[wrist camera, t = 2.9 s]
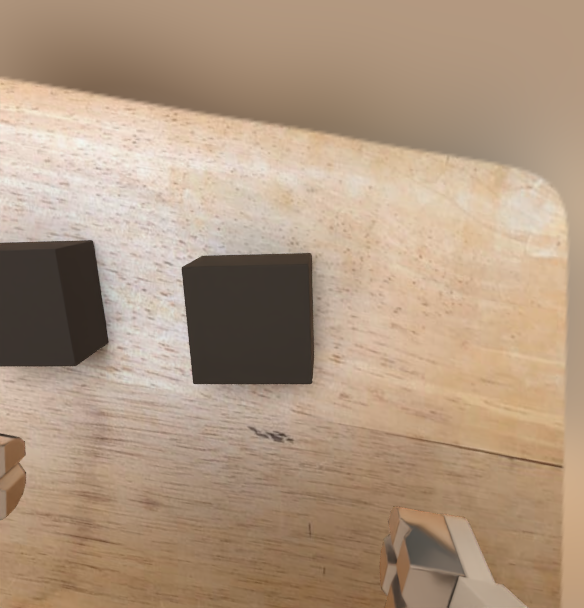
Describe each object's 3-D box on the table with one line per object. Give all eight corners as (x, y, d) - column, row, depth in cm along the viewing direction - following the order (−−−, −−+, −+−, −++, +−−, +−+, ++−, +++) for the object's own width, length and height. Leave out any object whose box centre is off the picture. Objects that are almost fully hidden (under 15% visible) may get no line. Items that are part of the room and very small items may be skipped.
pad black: (311, 253, 23) (309, 264, 20) (314, 358, 25) (312, 384, 21) (201, 255, 24) (180, 266, 20) (210, 358, 25) (193, 384, 22)
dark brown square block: (93, 240, 24) (55, 248, 21) (108, 342, 26) (75, 366, 22) (-10, 243, 24) (-63, 252, 21) (12, 343, 26) (-35, 366, 23)
